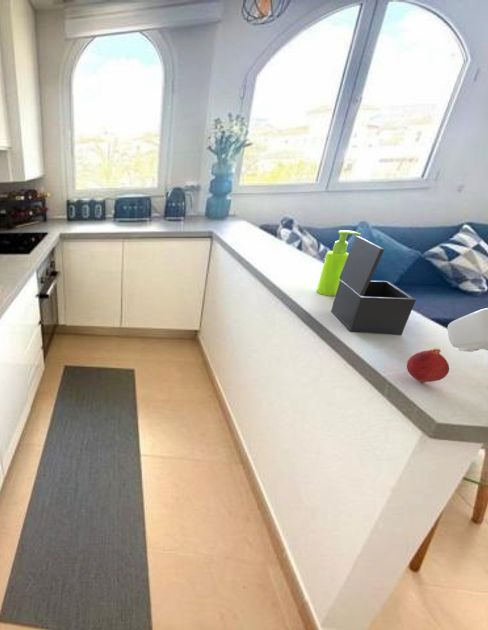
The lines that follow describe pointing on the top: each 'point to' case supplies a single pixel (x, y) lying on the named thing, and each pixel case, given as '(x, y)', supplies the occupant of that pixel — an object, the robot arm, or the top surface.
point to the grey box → (373, 308)
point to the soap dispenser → (334, 265)
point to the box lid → (361, 264)
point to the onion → (428, 366)
